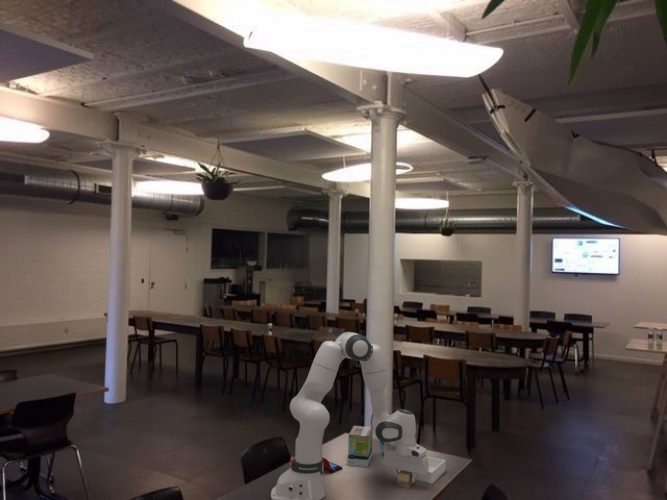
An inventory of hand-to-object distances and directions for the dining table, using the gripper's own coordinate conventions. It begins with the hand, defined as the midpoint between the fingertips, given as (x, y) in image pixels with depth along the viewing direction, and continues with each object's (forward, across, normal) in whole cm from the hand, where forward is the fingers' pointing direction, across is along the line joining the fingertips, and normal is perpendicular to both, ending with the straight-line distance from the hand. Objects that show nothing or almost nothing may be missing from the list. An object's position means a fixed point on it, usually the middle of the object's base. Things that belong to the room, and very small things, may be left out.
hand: (405, 480), depth 224 cm
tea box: (+2, -29, +13) cm, 32 cm away
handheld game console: (+2, -38, -4) cm, 39 cm away
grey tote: (+2, +3, +14) cm, 15 cm away
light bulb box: (+2, -20, +26) cm, 32 cm away
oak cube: (+2, 0, 0) cm, 2 cm away
